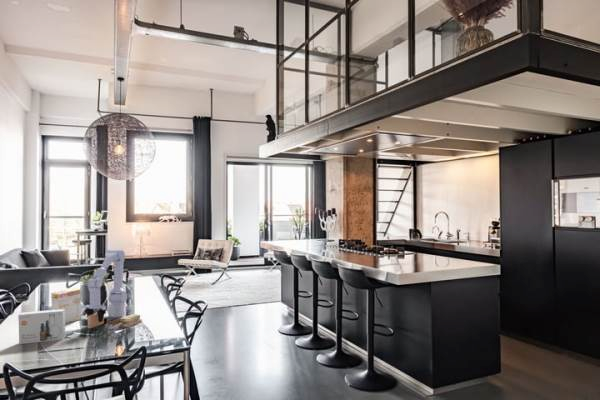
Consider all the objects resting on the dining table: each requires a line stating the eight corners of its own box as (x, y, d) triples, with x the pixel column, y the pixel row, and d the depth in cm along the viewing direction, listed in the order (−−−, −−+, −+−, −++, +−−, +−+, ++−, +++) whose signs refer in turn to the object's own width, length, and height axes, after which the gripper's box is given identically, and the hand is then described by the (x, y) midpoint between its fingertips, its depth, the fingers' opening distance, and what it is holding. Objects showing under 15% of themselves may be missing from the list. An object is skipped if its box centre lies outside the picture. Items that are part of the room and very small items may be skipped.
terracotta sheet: (87, 329, 240) (87, 316, 240) (101, 324, 249) (101, 311, 249) (90, 330, 239) (90, 316, 239) (103, 325, 249) (103, 311, 249)
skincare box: (18, 344, 216) (17, 314, 216) (22, 341, 221) (21, 312, 222) (63, 340, 222) (62, 310, 222) (65, 337, 227) (65, 308, 228)
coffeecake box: (75, 318, 267) (74, 288, 267) (81, 319, 263) (80, 289, 264) (51, 324, 254) (50, 292, 254) (57, 325, 250) (57, 293, 251)
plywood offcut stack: (118, 326, 241) (118, 318, 242) (132, 321, 252) (132, 313, 252) (128, 327, 239) (128, 319, 239) (141, 321, 249) (141, 314, 249)
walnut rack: (103, 326, 245) (103, 322, 245) (118, 321, 256) (118, 317, 256) (129, 329, 238) (129, 324, 238) (143, 323, 250) (143, 319, 250)
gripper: (80, 299, 243) (80, 322, 243) (99, 300, 238) (99, 323, 238) (90, 296, 250) (90, 319, 250) (108, 297, 245) (109, 320, 245)
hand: (95, 321), depth 244 cm, fingers open, 7 cm apart
